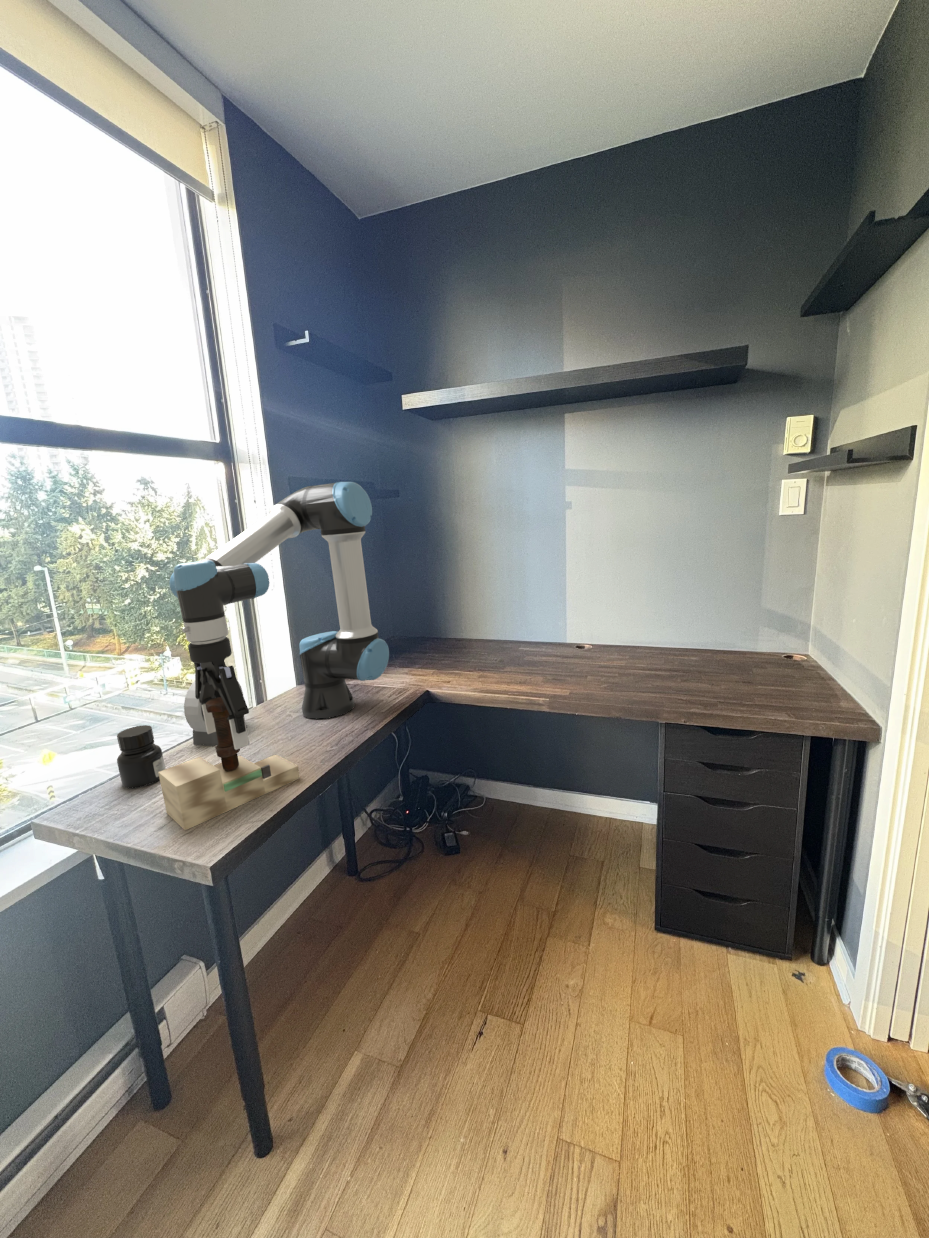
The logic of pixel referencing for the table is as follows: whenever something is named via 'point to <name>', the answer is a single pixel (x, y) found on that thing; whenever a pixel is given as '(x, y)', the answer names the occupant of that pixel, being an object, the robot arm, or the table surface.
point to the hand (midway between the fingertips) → (227, 739)
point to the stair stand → (219, 786)
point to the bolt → (223, 734)
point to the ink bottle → (139, 757)
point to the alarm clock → (199, 718)
